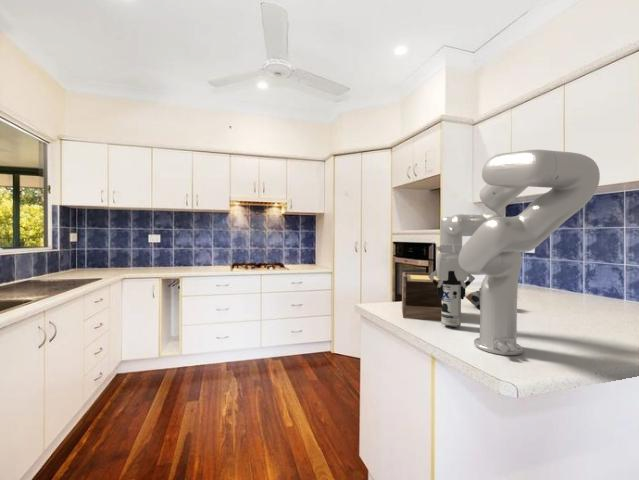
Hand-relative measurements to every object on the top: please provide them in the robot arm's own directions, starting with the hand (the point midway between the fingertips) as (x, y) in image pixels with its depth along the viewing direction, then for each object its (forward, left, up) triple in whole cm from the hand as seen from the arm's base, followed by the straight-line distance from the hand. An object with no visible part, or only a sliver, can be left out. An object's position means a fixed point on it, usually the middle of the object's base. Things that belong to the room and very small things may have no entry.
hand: (451, 297), depth 111 cm
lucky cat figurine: (+38, -22, -11) cm, 46 cm away
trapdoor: (+17, +8, +5) cm, 19 cm away
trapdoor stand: (+17, +8, -11) cm, 21 cm away
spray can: (0, 0, -10) cm, 10 cm away
